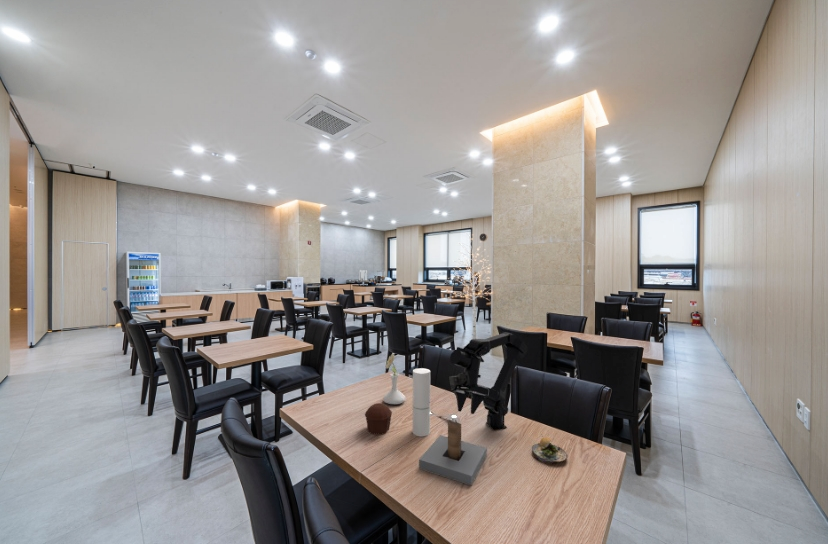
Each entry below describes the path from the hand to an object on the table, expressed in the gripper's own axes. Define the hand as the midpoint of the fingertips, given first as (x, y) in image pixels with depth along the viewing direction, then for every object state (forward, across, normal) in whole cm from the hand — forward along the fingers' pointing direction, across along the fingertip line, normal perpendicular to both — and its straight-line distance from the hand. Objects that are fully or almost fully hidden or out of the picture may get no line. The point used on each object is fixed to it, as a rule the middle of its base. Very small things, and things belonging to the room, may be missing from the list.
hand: (465, 412), depth 120 cm
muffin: (+14, -27, -24) cm, 38 cm away
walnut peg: (+16, +4, -4) cm, 17 cm away
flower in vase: (+2, -49, -12) cm, 50 cm away
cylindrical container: (+11, -18, -8) cm, 23 cm away
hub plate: (+16, +4, -4) cm, 17 cm away
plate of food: (+8, +13, +28) cm, 32 cm away
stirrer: (+4, -27, +4) cm, 28 cm away
